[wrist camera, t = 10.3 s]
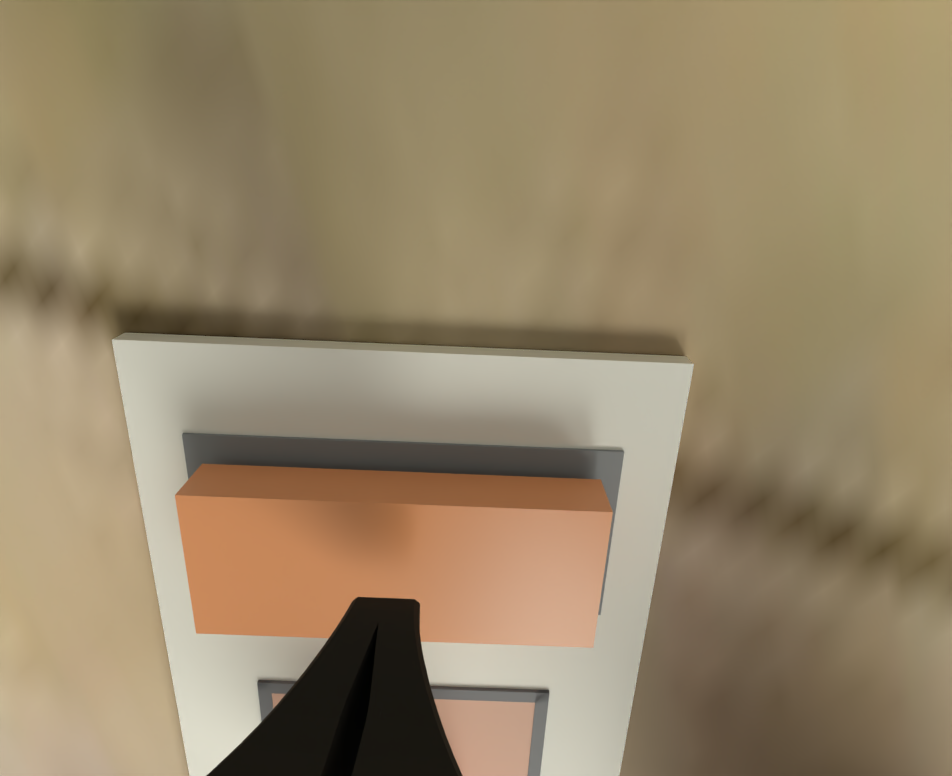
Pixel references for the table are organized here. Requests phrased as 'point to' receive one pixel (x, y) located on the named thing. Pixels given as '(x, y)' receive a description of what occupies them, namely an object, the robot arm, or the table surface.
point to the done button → (395, 551)
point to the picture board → (414, 450)
